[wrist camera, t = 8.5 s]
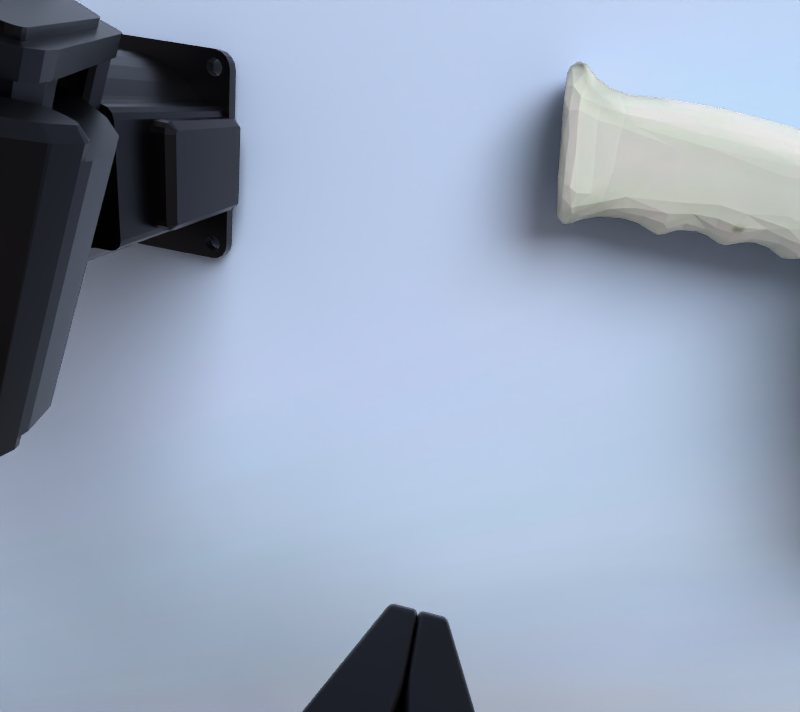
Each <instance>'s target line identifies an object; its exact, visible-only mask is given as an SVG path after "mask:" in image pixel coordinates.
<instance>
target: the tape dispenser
mask: <svg viewBox="0 0 800 712" xmlns="http://www.w3.org/2000/svg"><path fill="white" fill-rule="evenodd" d="M599 216H600V217H611V218H623V219H626V220H630V221H633V222H636V223H638V224H640V225H641V226H643V227H645V228H646V229H648V230H649V231H651V232H653V233H654V234H657V235H662V234H665V233H669V232H673V231H677V230H686V231H697V232H699V233H702V234H704V235H706V236H708V237H710V238H711V239H713V240H714V241H716V242H717V243H719V244H722V245H729V244H736V243H742V242H753V243H757V244H760V245H763V246H765V247H768V248H769V249H770V250H772V251H773V252H774V253H776V254H777V255H778V256H780V257H781V258H786V259H799V258H800V130H799V129H796V128H793V127H790V126H787V125H783V124H780V123H776V122H772V121H768V120H765V119H761V118H757V117H754V116H750V115H746V114H742V113H739V112H735V111H731V110H727V109H724V108H718V107H712V106H707V105H701V104H695V103H689V102H684V101H678V100H672V99H665V98H656V97H646V96H636V95H628V94H625V93H623V92H620V91H617V90H615V89H612V88H610V87H609V86H608V85H606V84H605V83H604V82H602V81H601V80H599V79H598V78H597V77H596V75H595V74H594V73H593V71H592V70H591V69H590V67H589V66H588V65H587V64H585V63H583V62H577V63H575V64H574V65H572V66H571V67H570V69H569V71H568V73H567V79H566V87H565V95H564V105H563V114H562V132H561V145H560V159H559V171H558V204H557V217H558V218H559V219H560V221H561V222H562V223H563V224H571V223H574V222H576V221H579V220H582V219H588V218H593V217H599Z"/></svg>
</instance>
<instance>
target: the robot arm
mask: <svg viewBox="0 0 800 712" xmlns="http://www.w3.org/2000/svg"><path fill="white" fill-rule="evenodd" d="M216 59H218V60H219V61H220V62H221V63H222V68H223V69H222V73H221V74H220V75H219V76H217V75H216V74H215V73H214V71H213V63H214V61H215V60H216ZM235 78H236V69H235V63H234V61H233V59H232V57H231V56H230V55H229V54H228V53H227V52H225V51H222V50H218V49H213V48H206V47H200V46H193V45H187V44H181V43H174V42H168V41H161V40H155V39H149V38H142V37H136V36H129V35H123V34H122V32H120V31H119V30H117V29H116V28H114V27H112V26H110V25H109V24H107V23H105V22H103V21H101V20H100V16H98V15H97V14H96V13H94V12H92V11H91V10H89V9H88V8H86V7H84V6H83V5H81V4H80V3H78V2H77V1H75V0H0V456H2V455H4V454H6V453H8V452H10V451H12V450H14V449H15V448H16V447H17V446H18V445H19V443H20V439H21V435H23V434H24V433H26V432H27V431H28V430H29V429H30V428H31V427H32V426H33V425H34V424H35V423H36V421H37V420H38V419H39V418H40V417H41V416H42V415H43V414H44V413H45V411H46V410H47V409H48V408H49V407H50V406H51V402H52V398H53V394H54V390H55V386H56V382H57V378H58V374H59V370H60V366H61V362H62V359H63V355H64V351H65V347H66V343H67V339H68V335H69V331H70V327H71V323H72V319H73V315H74V312H75V308H76V304H77V300H78V296H79V292H80V288H81V284H82V280H83V276H84V272H85V269H86V265H87V261H88V260H91V259H94V258H97V257H99V256H102V255H105V254H108V253H110V252H113V251H116V250H119V249H122V248H124V247H127V246H130V245H133V244H135V243H140V244H145V245H150V246H155V247H160V248H165V249H170V250H176V251H181V252H186V253H191V254H196V255H201V256H206V257H211V258H218V257H220V256H222V255H224V254H226V253H228V251H229V250H230V248H231V244H232V208H233V207H235V206H236V205H237V204H238V193H239V157H240V127H239V125H238V124H237V122H236V120H235ZM212 236H213V237H215V238H217V239H218V241H219V244H220V246H219V248H216V247H214V246H213V244H212V242H211V238H212ZM302 712H475V711H474V707H473V704H472V701H471V697H470V694H469V691H468V687H467V684H466V680H465V677H464V674H463V670H462V667H461V664H460V660H459V657H458V653H457V650H456V647H455V643H454V640H453V637H452V633H451V630H450V626H449V623H448V621H447V619H446V618H445V617H443V616H439V615H435V614H431V613H428V612H420V613H419V614H418V616H417V612H416V610H415V609H412V608H408V607H404V606H400V605H397V604H391V605H389V606H388V607H387V608H386V609H385V610H384V612H383V613H382V614H381V615H380V617H379V618H378V619H377V620H376V621H375V623H374V624H373V625H372V626H371V628H370V629H369V630H368V631H367V633H366V634H365V635H364V636H363V637H362V639H361V640H360V641H359V642H358V644H357V645H356V646H355V647H354V649H353V650H352V651H351V652H350V653H349V655H348V656H347V657H346V658H345V660H344V661H343V662H342V663H341V665H340V666H339V667H338V668H337V669H336V671H335V672H334V673H333V674H332V676H331V677H330V678H329V679H328V681H327V682H326V683H325V684H324V686H323V687H322V688H321V689H320V690H319V692H318V693H317V694H316V695H315V697H314V698H313V699H312V700H311V702H310V703H309V704H308V705H307V706H306V708H305V709H304V710H303V711H302Z"/></svg>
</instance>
